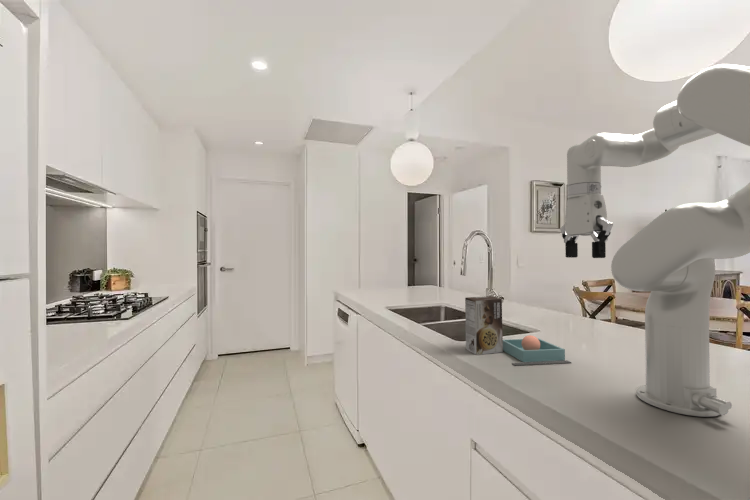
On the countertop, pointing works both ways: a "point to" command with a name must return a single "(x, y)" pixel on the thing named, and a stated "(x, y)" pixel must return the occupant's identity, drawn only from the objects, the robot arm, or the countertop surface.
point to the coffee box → (484, 325)
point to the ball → (530, 343)
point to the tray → (533, 351)
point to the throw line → (541, 363)
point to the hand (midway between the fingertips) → (584, 257)
